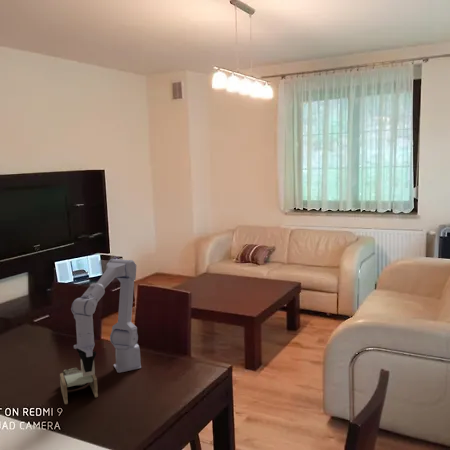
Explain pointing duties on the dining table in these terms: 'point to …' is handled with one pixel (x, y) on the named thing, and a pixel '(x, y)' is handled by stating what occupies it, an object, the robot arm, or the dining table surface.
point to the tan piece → (64, 387)
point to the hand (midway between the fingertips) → (87, 368)
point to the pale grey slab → (77, 379)
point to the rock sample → (71, 371)
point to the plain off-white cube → (87, 372)
